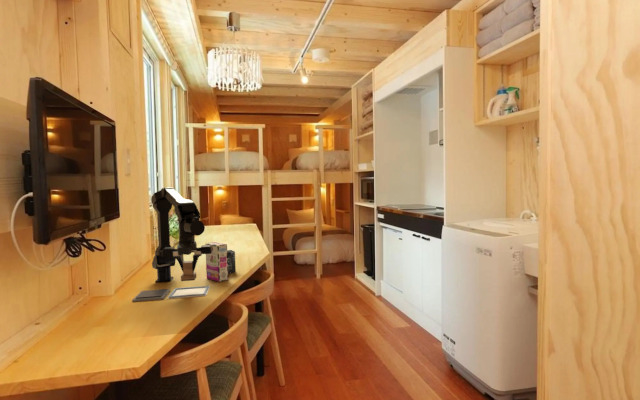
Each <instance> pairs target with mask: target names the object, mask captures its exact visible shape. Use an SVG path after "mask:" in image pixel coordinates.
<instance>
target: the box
mask: <svg viewBox="0 0 640 400" xmlns="http://www.w3.org/2000/svg"><path fill="white" fill-rule="evenodd" d="M227 258H228V275H229V274H235V273H236V270H237V269H236V251H234V250H233V249H227Z"/></svg>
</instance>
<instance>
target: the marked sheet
mask: <svg viewBox="0 0 640 400" xmlns="http://www.w3.org/2000/svg"><path fill="white" fill-rule="evenodd" d="M210 288H211V285H210V286H209V285H203V286H202V285H201V286H199V285H198V286H189V287H188V286H187V287H185V286H184V287H175V288H174V289H173V290H172V291H171V292H170V294H168V297H167V298H166V300H171V299H181V298H196V297H206V296H207V295H208V292H209V291H210Z"/></svg>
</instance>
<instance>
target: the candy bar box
mask: <svg viewBox="0 0 640 400" xmlns="http://www.w3.org/2000/svg"><path fill="white" fill-rule="evenodd" d="M204 245H212V248H213V251H212V253H211V254H205V270H206V279H207V280H212V281H214V282H218V283H220V282H221V283H222V282H224V281H225V282H226V281H228V280H229V274H228V258H227V250H228V244H227V243H220V242H215V241H214V242H206V243H205V244H204Z"/></svg>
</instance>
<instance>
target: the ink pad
mask: <svg viewBox="0 0 640 400" xmlns="http://www.w3.org/2000/svg"><path fill="white" fill-rule="evenodd" d="M169 293H171V289H170V288H161V289H160V288H159V289H149V290H145V289H144V290H142V291H140V292H139V293H138V294H136V296H134V297H133V299H132V300H131V302H132V303H135V302H147V301H148V302H149V301H160V300H165V298H166V297H167V296H168V295H169Z"/></svg>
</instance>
